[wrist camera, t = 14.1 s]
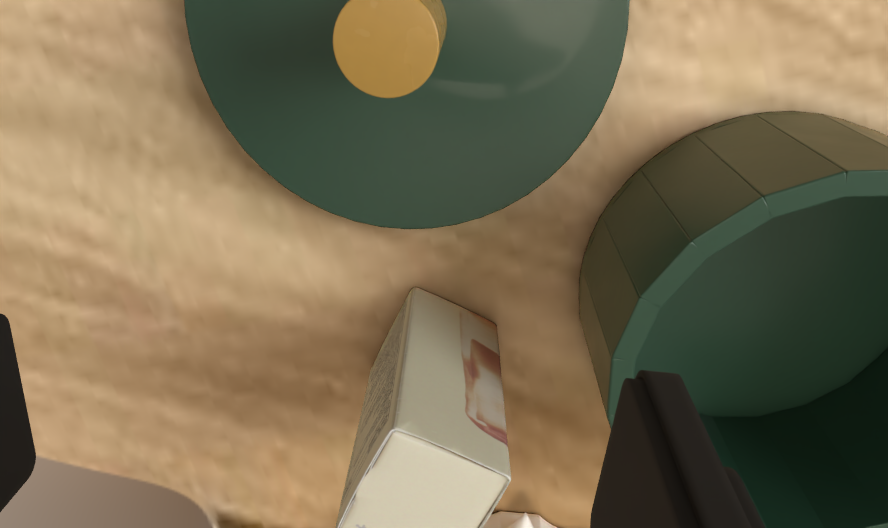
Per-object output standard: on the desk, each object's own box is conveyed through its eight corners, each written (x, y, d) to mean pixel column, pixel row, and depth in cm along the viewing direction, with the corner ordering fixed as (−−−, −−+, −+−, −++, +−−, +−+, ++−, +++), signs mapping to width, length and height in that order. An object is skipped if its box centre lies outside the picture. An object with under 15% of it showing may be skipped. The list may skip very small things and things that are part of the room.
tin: (532, 377, 32) (547, 496, 25) (661, 62, 26) (728, 106, 19) (824, 455, 33) (914, 589, 26) (1014, 172, 27) (1196, 250, 20)
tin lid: (172, 158, 28) (88, 217, 22) (229, -309, 22) (132, -407, 15) (538, 261, 29) (554, 345, 23) (696, -150, 23) (776, -184, 17)
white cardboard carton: (453, 406, 33) (444, 586, 23) (367, 369, 32) (324, 540, 23) (505, 320, 31) (518, 481, 21) (415, 279, 30) (388, 427, 21)
